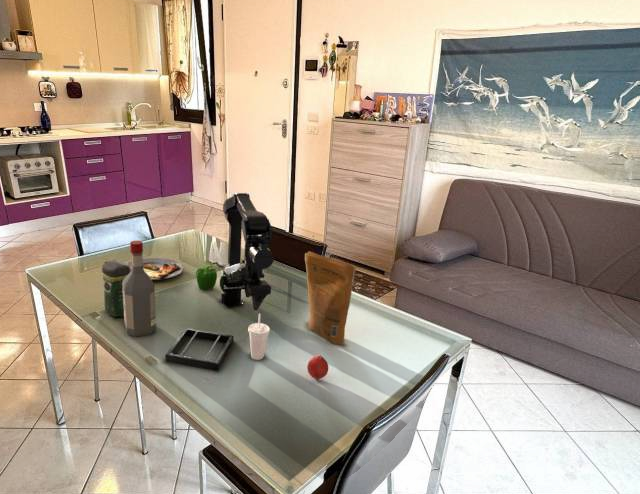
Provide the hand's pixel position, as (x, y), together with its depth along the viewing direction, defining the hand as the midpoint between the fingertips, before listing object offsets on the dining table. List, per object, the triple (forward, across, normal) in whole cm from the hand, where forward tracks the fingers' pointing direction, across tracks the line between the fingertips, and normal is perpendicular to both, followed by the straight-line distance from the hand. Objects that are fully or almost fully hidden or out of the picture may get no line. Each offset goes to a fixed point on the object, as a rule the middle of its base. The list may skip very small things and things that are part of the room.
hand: (251, 303), depth 136 cm
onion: (+13, +23, +13) cm, 30 cm away
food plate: (+13, -61, -26) cm, 68 cm away
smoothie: (+13, +9, 0) cm, 16 cm away
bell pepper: (+13, -42, -7) cm, 44 cm away
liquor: (+13, -13, -34) cm, 38 cm away
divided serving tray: (+13, +4, -16) cm, 21 cm away
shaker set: (+13, -46, +42) cm, 64 cm away
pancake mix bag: (+13, +1, +25) cm, 28 cm away
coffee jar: (+13, -27, -40) cm, 50 cm away
